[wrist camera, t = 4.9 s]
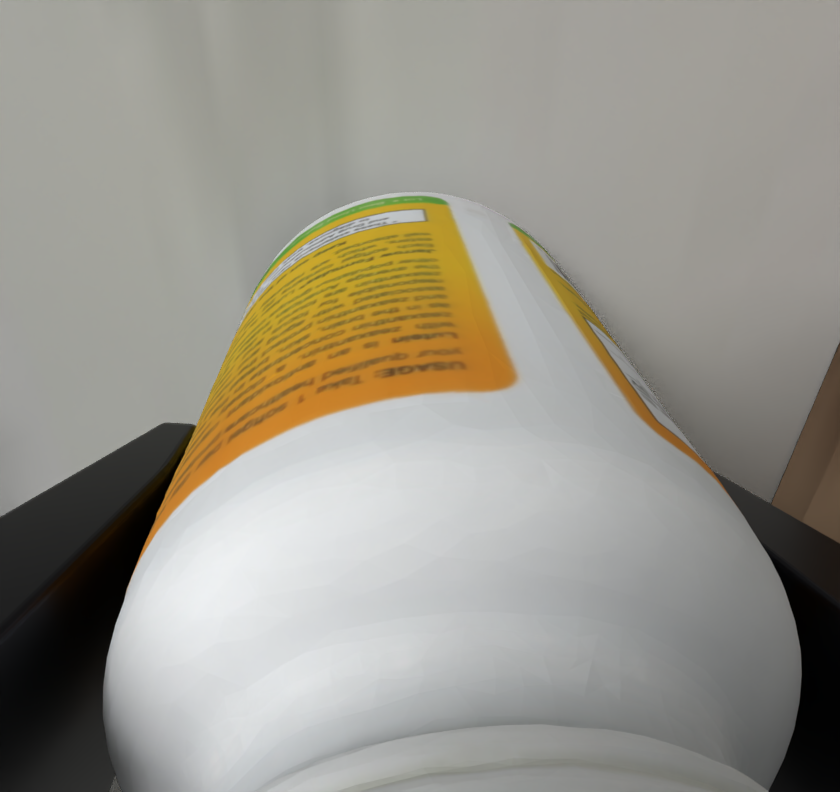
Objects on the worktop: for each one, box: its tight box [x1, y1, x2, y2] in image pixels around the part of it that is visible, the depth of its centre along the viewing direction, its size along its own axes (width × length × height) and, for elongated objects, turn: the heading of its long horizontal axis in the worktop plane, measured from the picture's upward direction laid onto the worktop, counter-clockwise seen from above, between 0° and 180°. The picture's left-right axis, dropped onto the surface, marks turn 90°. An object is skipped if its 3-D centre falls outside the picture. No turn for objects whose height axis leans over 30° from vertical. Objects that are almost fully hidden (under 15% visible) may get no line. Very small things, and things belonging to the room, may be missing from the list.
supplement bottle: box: [103, 192, 802, 792], centre depth 8 cm, size 6×6×10 cm
